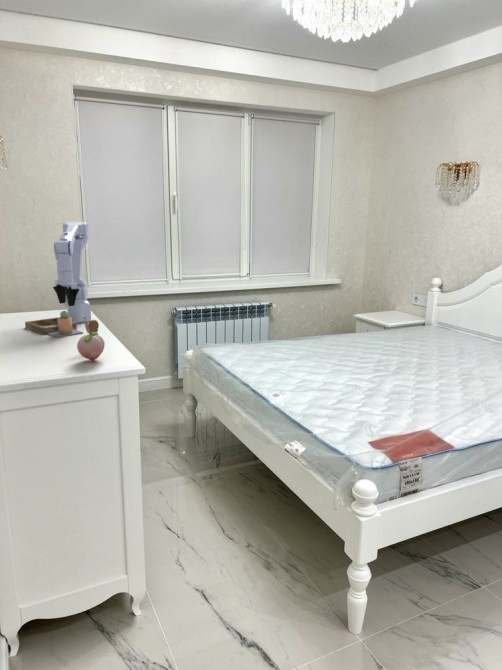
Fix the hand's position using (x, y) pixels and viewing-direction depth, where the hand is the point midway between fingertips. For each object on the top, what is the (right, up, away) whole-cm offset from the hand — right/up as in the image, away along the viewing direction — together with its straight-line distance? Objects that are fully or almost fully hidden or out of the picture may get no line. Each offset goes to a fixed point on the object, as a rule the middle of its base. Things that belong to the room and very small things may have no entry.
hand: (66, 304), depth 202 cm
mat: (+1, -12, -5) cm, 13 cm away
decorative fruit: (+22, -21, -39) cm, 50 cm away
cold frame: (-8, -10, +3) cm, 13 cm away
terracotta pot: (+1, -11, -5) cm, 13 cm away
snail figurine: (+18, -17, -25) cm, 36 cm away
